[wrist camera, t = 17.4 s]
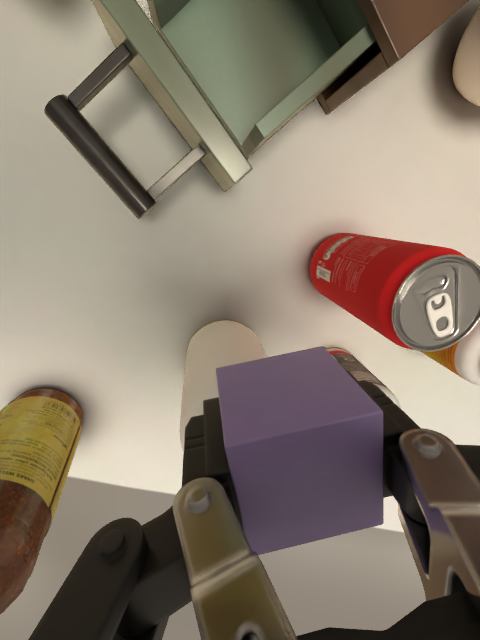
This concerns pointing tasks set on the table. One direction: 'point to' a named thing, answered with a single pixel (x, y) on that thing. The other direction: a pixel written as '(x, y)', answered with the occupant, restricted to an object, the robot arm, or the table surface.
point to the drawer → (215, 78)
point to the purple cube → (301, 449)
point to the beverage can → (401, 288)
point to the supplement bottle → (462, 356)
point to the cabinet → (388, 41)
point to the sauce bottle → (32, 478)
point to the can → (213, 363)
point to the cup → (469, 62)
